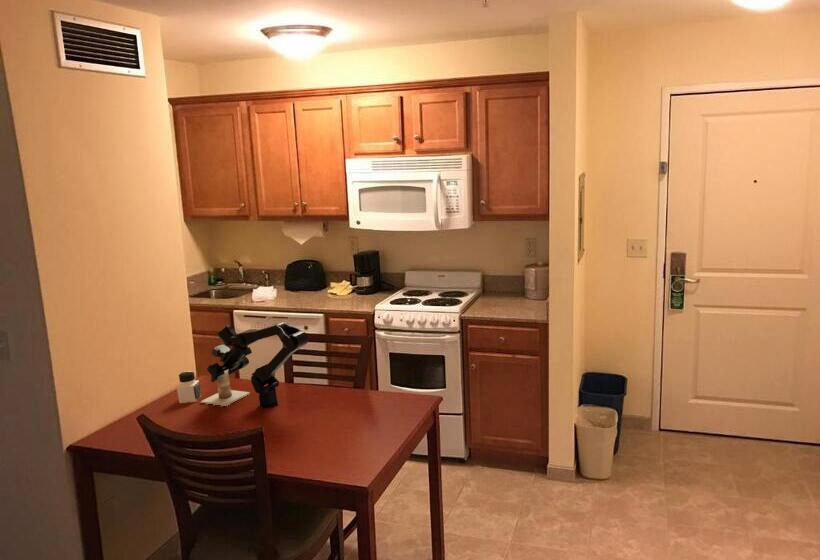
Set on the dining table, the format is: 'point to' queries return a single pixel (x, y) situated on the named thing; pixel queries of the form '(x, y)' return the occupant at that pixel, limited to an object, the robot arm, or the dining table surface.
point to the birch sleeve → (224, 386)
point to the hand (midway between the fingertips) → (220, 377)
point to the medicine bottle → (188, 388)
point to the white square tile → (225, 402)
